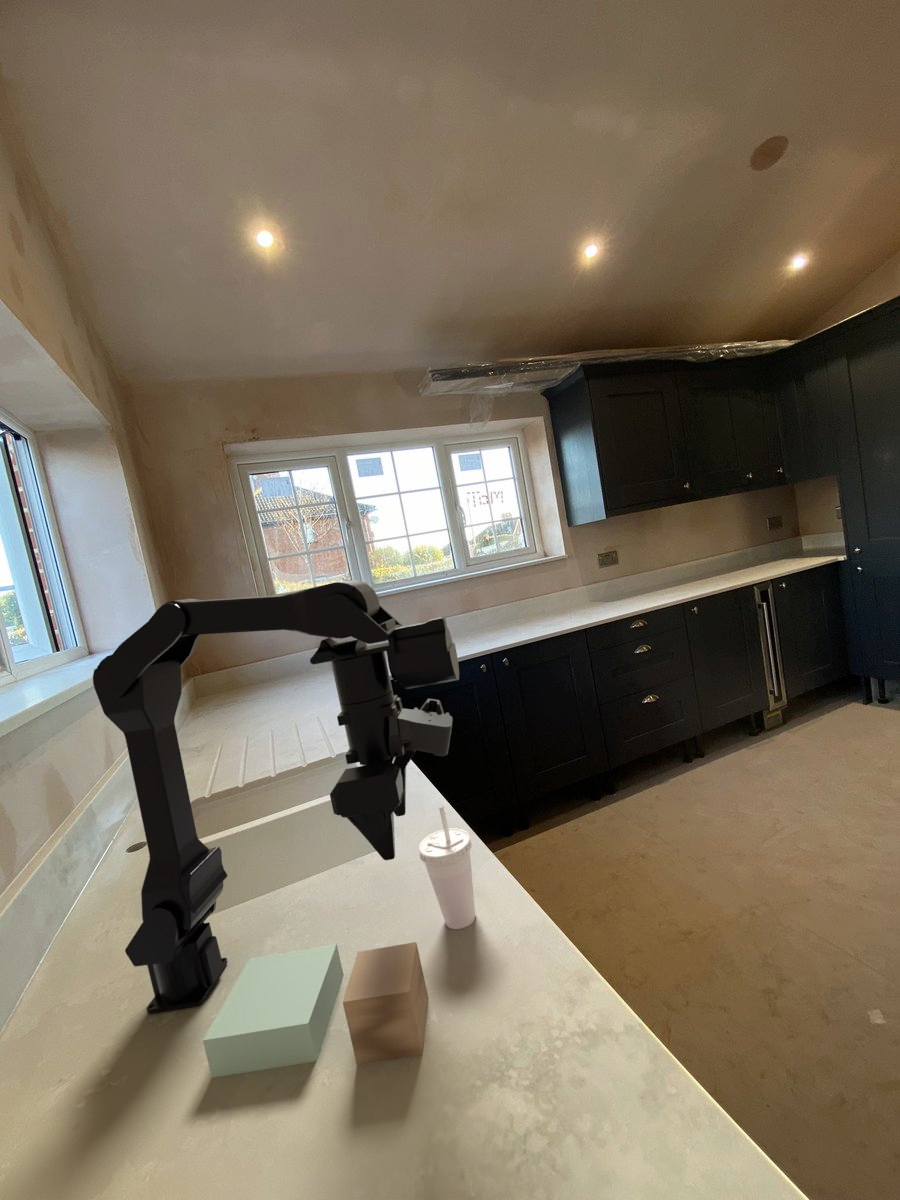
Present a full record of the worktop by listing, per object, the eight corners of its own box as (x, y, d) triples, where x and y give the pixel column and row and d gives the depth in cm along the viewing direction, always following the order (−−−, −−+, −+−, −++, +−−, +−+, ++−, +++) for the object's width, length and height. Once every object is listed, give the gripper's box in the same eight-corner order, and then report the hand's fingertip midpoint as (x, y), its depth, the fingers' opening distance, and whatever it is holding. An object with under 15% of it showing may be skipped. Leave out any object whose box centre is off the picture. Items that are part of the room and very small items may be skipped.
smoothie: (482, 936, 58) (457, 818, 58) (428, 938, 60) (403, 823, 59) (489, 899, 65) (467, 792, 64) (440, 902, 66) (418, 797, 65)
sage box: (212, 1081, 47) (202, 1040, 47) (257, 992, 57) (249, 958, 57) (317, 1064, 47) (308, 1023, 47) (344, 978, 57) (336, 943, 57)
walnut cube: (356, 1065, 46) (342, 1002, 45) (370, 1008, 52) (357, 951, 51) (423, 1055, 45) (409, 991, 45) (428, 998, 51) (416, 941, 51)
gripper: (434, 704, 46) (469, 872, 47) (443, 665, 64) (467, 786, 65) (312, 728, 46) (349, 894, 47) (356, 682, 65) (381, 802, 66)
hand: (395, 835), depth 56 cm, fingers open, 9 cm apart
